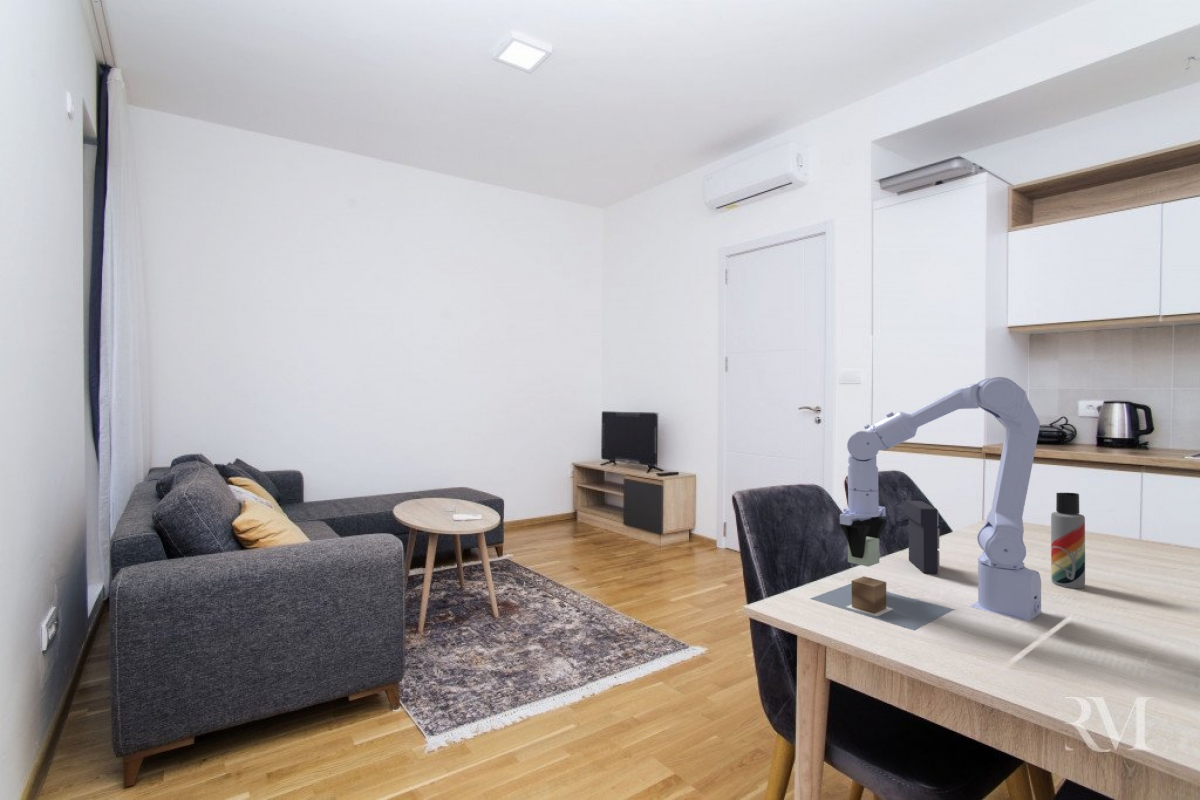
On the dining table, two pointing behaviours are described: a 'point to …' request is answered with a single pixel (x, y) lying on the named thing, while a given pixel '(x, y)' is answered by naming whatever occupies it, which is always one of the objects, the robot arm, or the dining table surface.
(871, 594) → the walnut block
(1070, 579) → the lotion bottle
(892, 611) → the grey mat
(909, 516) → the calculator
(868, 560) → the sage block
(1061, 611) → the dining table surface
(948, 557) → the dining table surface
